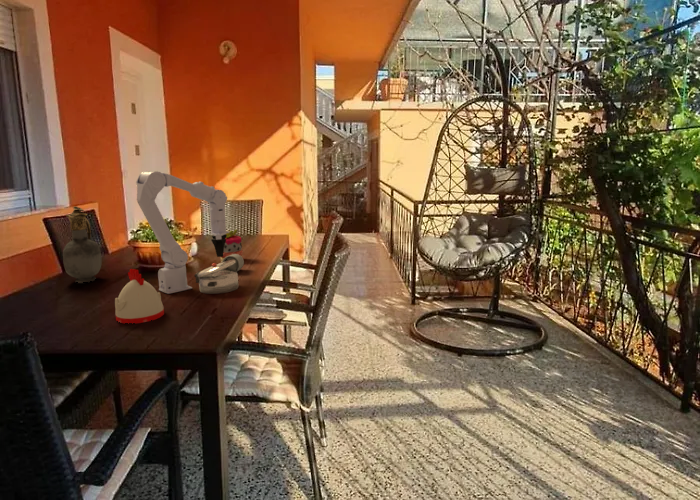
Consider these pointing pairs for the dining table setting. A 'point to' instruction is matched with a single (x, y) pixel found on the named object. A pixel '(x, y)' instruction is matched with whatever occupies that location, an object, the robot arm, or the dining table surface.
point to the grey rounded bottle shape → (81, 249)
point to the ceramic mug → (236, 265)
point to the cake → (232, 245)
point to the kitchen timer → (138, 301)
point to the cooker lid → (215, 268)
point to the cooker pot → (218, 282)
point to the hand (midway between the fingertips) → (220, 254)
